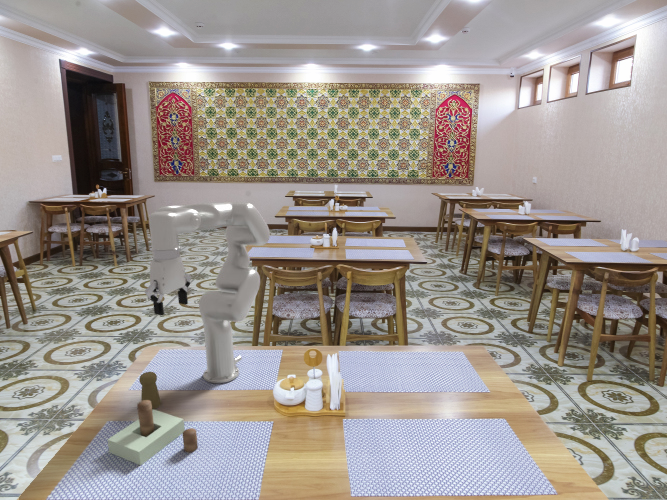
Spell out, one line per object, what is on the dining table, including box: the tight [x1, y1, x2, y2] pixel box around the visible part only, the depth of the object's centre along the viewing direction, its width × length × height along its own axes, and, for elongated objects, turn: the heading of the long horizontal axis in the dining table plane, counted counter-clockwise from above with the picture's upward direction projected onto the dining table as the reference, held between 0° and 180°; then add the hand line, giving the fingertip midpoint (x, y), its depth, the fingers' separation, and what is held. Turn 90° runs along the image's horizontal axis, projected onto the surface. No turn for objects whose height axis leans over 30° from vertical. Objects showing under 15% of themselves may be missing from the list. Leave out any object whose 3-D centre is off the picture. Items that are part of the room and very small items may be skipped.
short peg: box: [182, 427, 198, 454], centre depth 127 cm, size 4×4×5 cm
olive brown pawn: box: [138, 371, 162, 410], centre depth 148 cm, size 6×6×11 cm
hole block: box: [107, 409, 186, 466], centre depth 131 cm, size 16×12×4 cm
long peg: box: [136, 400, 154, 437], centre depth 130 cm, size 4×4×12 cm
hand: (171, 308), depth 140 cm, fingers open, 9 cm apart
